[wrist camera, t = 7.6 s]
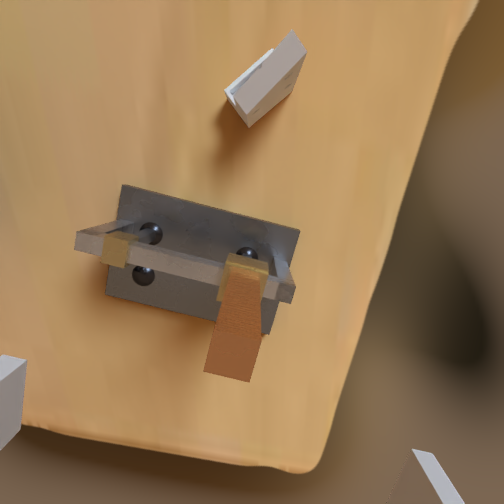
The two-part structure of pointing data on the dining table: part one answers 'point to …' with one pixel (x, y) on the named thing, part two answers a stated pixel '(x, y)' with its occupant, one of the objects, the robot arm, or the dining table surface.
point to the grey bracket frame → (168, 257)
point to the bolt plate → (194, 251)
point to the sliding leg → (238, 318)
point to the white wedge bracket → (267, 80)
